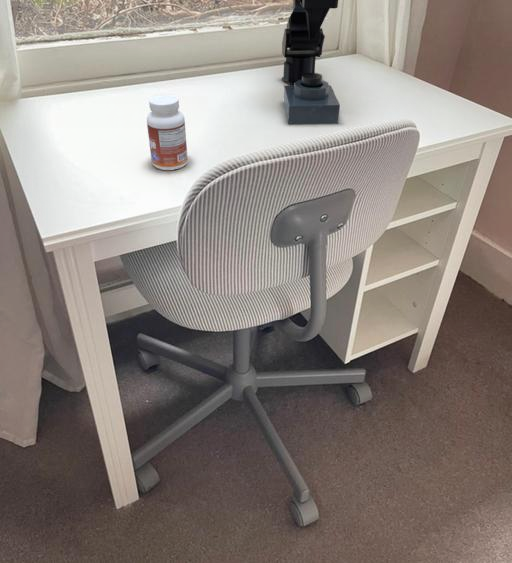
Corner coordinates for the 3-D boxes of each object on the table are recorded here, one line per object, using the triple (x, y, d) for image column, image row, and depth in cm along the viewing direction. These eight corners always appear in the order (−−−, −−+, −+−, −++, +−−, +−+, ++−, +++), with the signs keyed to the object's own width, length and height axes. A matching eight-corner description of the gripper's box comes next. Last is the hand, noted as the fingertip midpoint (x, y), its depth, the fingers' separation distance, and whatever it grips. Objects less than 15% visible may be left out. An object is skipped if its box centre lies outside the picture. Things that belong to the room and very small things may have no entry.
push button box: (283, 103, 116) (284, 75, 113) (329, 103, 117) (331, 74, 113) (288, 124, 107) (289, 94, 103) (338, 123, 107) (341, 93, 104)
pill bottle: (151, 156, 94) (144, 93, 88) (186, 154, 95) (181, 91, 88) (152, 172, 90) (144, 107, 83) (189, 169, 90) (184, 104, 84)
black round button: (300, 83, 110) (301, 72, 109) (320, 83, 110) (320, 72, 109) (302, 89, 107) (303, 79, 106) (322, 89, 107) (323, 78, 106)
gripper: (271, -57, 107) (270, 28, 116) (278, -45, 92) (275, 51, 102) (327, -57, 107) (320, 28, 117) (342, -45, 92) (334, 51, 102)
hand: (312, 38), depth 109 cm, fingers closed
